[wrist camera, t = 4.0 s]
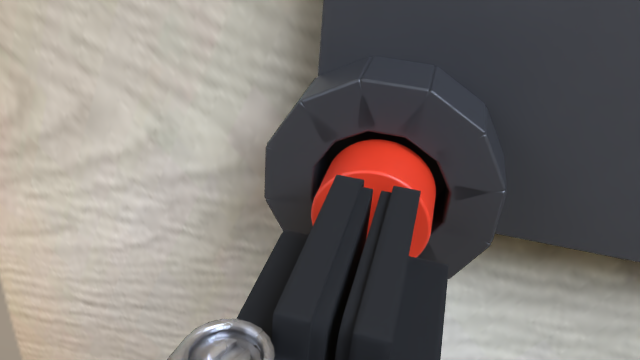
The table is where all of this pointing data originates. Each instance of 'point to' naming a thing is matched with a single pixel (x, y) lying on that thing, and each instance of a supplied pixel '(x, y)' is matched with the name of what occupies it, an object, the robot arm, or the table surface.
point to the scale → (480, 118)
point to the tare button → (385, 180)
